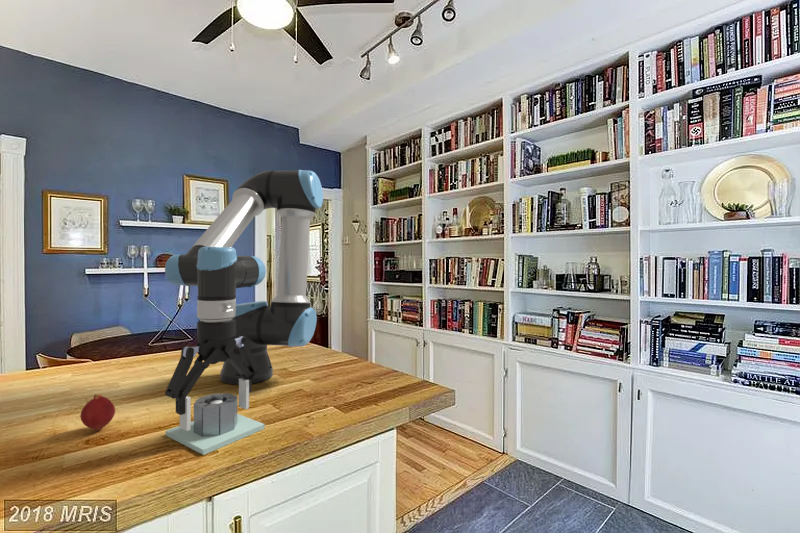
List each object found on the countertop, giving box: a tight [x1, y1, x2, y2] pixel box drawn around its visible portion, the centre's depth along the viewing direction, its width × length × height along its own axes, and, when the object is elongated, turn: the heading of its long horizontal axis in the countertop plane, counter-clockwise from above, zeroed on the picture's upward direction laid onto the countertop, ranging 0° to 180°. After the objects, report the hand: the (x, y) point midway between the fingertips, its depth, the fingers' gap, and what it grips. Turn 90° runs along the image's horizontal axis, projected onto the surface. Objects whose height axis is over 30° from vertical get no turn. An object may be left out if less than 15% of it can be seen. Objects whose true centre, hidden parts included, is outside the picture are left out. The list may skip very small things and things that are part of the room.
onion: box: [79, 393, 116, 432], centre depth 85 cm, size 6×6×8 cm
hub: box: [193, 392, 238, 437], centre depth 85 cm, size 8×8×6 cm
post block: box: [165, 400, 266, 456], centre depth 85 cm, size 14×14×6 cm
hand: (216, 417), depth 85 cm, fingers open, 13 cm apart
